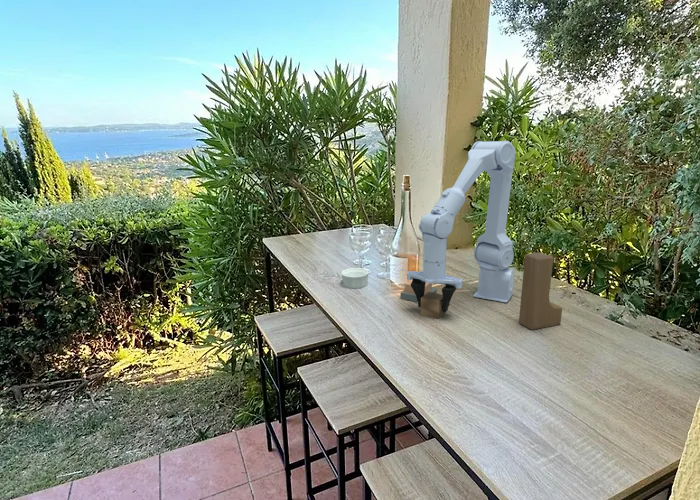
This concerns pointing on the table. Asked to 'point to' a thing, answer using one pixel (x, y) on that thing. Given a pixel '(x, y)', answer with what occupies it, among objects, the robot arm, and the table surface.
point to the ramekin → (355, 277)
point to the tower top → (409, 289)
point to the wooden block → (538, 293)
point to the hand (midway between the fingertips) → (433, 308)
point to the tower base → (413, 295)
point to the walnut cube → (432, 305)
